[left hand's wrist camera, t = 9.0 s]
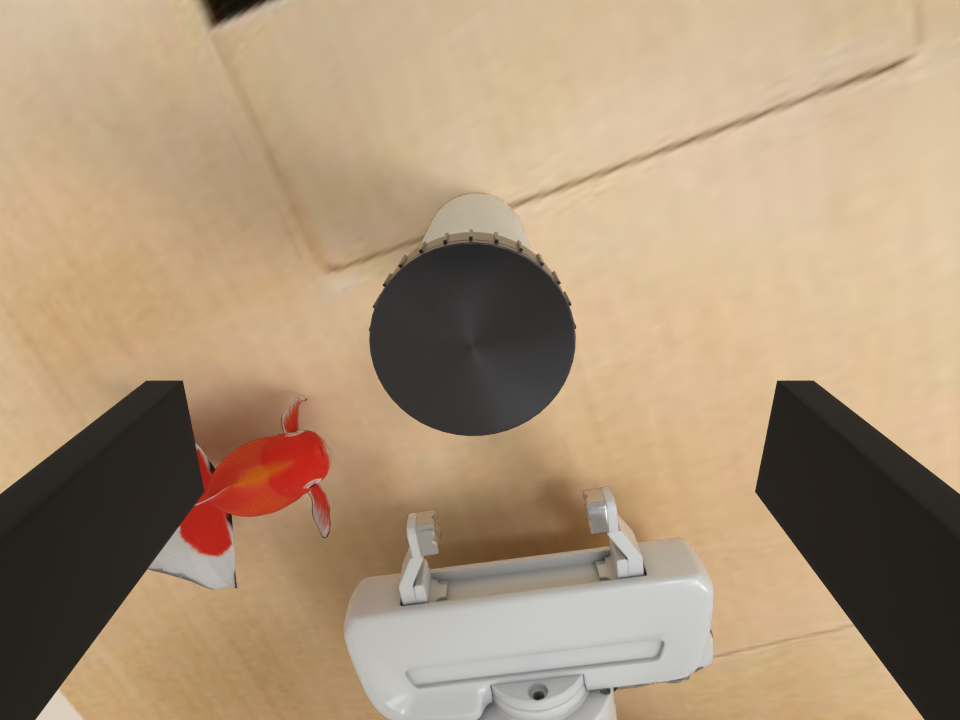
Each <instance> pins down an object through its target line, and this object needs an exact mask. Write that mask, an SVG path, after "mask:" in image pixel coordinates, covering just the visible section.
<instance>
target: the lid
mask: <svg viewBox="0 0 960 720" xmlns="http://www.w3.org/2000/svg"><path fill="white" fill-rule="evenodd" d="M559 284H561V283H560V281H559V278H558V276H557V274H556V273H555V271H553V272H551V270H550V269H549V268H548V266H547V265H546V264H545V263H544V262H543V260H542V257H541V255H540V254H539V253H538V254H537V255H536V254H534V253H533V252H532V251H530V250H529V249H528V248H526V247H525V246H523V245H522V243H521V241H519V240H518V241H517V242H515V241H513V240H511V239H508V238H505V237H503V236H499V235H498V232H494V234H491V233H482V232H473V229H470V231H469V232H462V233H456V234H450V235H449V233H448V232H447V233H445V235H444V236H443V237H440V238H437V239H435V240H433V241H430V242H428V243H426V241H424V242H423V243H422V245H421V247H420V248H418V249H417V250H415V251H414V252H413V253H411V254H410V255H409V256H408V257H407V256H406V255H405V256H404V257H403V258H402V260H401V262H400V264H399V265H398V267H397V269H396V270H395V271H394V273H393V274H391V273H390V274H389V276H388V277H387V279H386V281H385V282H384V284H383V286H384V287H385V288H384V289H383V291H382V293H381V294H380V295H379V297H378V298H377V300H376V302H375V303H374V305H373V308H375V309H374V312H373V315H372V320H371V325H370V328H369V331H370V339H369V342H370V352H371V357H372V361H373V365H374V368H375V371H376V373H377V376H378V378H379V380H380V382H381V384H382V385H383V387H384V389H385V390H386V392H387V393H388V394H389V396H390V397H391V398H392V400H393V401H394V402H395V403H396V404H397V405H398V406H399V407H400V408H401V409H402V410H404V411H405V412H406V413H407V414H409V415H410V416H411V417H413V418H414V419H416V420H418V421H419V422H421V423H423V424H425V425H427V426H429V427H431V428H434V429H437V430H440V431H443V432H446V433H451V434H456V435H465V436H482V435H490V434H496V433H499V432H503V431H507V430H509V429H512V428H515V427H517V426H519V425H521V424H523V423H525V422H527V421H529V420H530V419H532V418H533V417H534V416H536V415H537V414H539V413H540V412H541V411H542V410H543V409H544V408H545V407H547V406H548V405H549V404H550V403H551V401H552V400H553V399H554V398H555V397H556V395H557V394H558V393H559V391H560V389H561V388H562V386H563V385H564V383H565V381H566V379H567V377H568V375H569V372H570V369H571V366H572V363H573V358H574V353H575V338H576V335H575V329H576V325H575V323H574V320H573V316H572V313H571V309H570V307H569V306H571V302H570V300H569V298H568V296H567V294H566V292H563V291H562V289H561V287H560V285H559Z"/></svg>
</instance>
